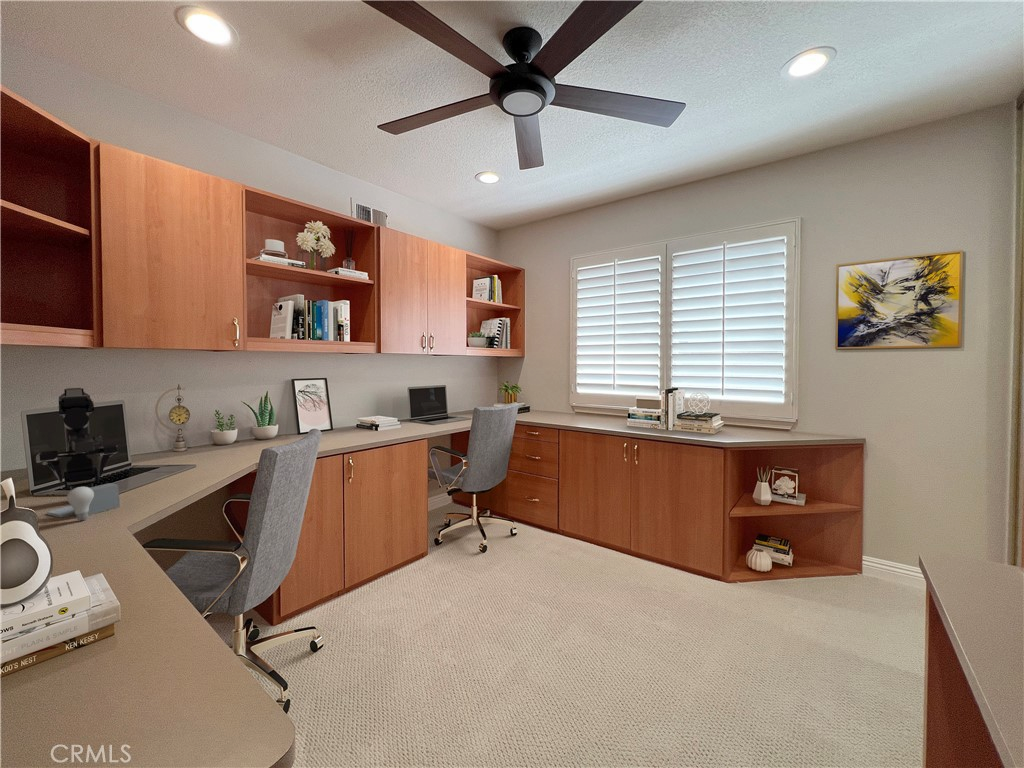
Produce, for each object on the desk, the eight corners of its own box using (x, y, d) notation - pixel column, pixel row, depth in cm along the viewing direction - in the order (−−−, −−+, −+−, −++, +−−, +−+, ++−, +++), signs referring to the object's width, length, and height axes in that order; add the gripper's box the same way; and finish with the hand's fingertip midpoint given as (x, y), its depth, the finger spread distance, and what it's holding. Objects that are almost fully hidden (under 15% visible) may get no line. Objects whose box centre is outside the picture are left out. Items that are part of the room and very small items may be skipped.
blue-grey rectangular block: (73, 515, 142) (71, 491, 142) (110, 505, 152) (108, 483, 151) (83, 516, 141) (81, 493, 140) (119, 506, 150) (118, 484, 149)
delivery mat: (46, 514, 144) (46, 511, 144) (80, 505, 152) (80, 503, 152) (61, 517, 140) (61, 514, 140) (96, 508, 149) (95, 505, 149)
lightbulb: (78, 524, 134) (75, 490, 133) (63, 523, 135) (60, 489, 134) (100, 517, 140) (98, 484, 139) (86, 516, 141) (83, 483, 140)
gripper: (42, 431, 131) (45, 482, 129) (121, 426, 146) (126, 471, 145) (34, 437, 137) (37, 486, 135) (111, 431, 152) (115, 474, 151)
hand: (81, 479), depth 141 cm, fingers open, 9 cm apart
